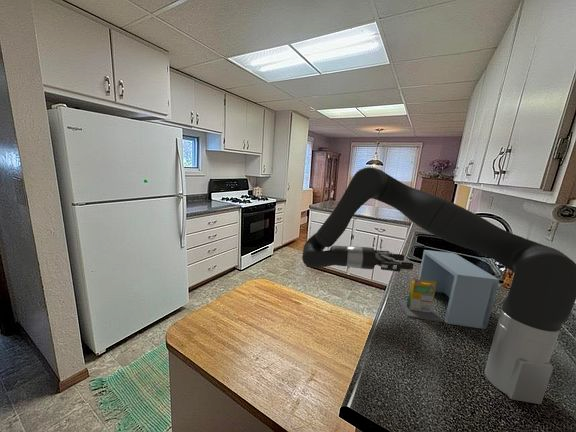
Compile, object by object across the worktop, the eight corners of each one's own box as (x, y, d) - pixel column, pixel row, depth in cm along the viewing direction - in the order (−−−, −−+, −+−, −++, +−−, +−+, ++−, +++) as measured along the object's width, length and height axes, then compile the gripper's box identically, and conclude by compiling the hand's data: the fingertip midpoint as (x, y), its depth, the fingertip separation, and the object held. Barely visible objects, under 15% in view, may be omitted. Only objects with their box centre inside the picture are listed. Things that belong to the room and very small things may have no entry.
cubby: (486, 329, 77) (499, 279, 73) (446, 323, 78) (458, 274, 75) (446, 291, 101) (454, 253, 98) (416, 287, 102) (424, 249, 99)
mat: (442, 321, 79) (442, 320, 79) (407, 316, 80) (407, 315, 80) (428, 305, 88) (428, 304, 88) (397, 301, 90) (398, 299, 90)
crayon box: (427, 308, 85) (433, 278, 83) (431, 313, 82) (437, 282, 80) (406, 305, 86) (411, 275, 84) (409, 310, 83) (415, 279, 81)
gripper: (364, 253, 76) (418, 258, 74) (357, 241, 90) (402, 245, 88) (362, 275, 77) (414, 280, 75) (355, 260, 91) (399, 264, 89)
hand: (408, 261), depth 81 cm, fingers open, 8 cm apart
